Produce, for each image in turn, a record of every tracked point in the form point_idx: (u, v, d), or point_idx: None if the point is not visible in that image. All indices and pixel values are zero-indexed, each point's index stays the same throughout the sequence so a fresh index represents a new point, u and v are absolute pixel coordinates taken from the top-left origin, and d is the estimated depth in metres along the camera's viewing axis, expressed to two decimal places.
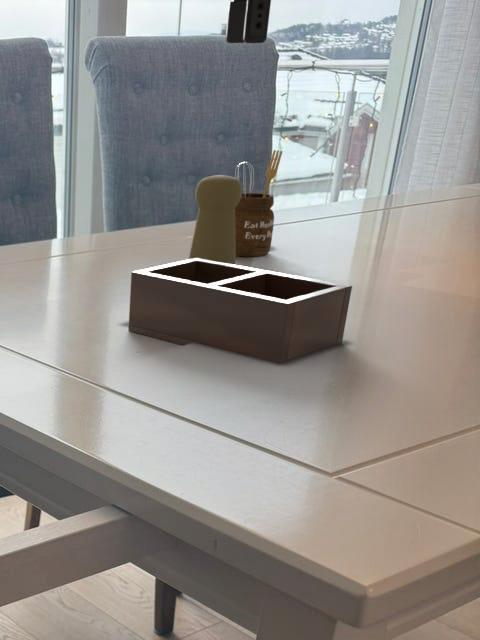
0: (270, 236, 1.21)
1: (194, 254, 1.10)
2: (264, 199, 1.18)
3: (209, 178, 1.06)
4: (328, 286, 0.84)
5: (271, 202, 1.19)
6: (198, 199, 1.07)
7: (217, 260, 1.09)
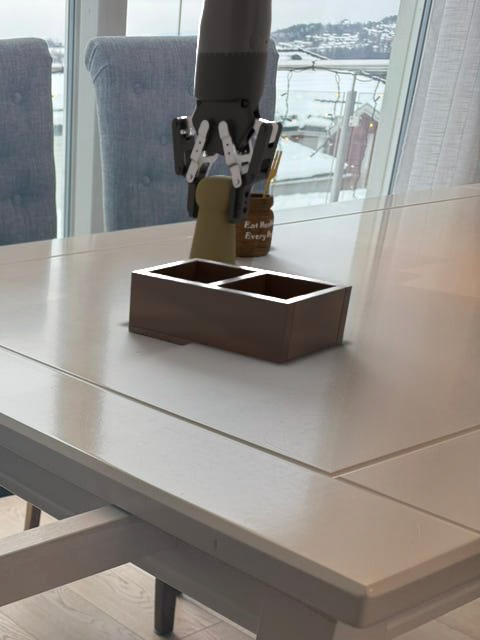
0: (270, 236, 1.21)
1: (194, 254, 1.10)
2: (264, 199, 1.18)
3: (209, 178, 1.06)
4: (328, 286, 0.84)
5: (271, 202, 1.19)
6: (198, 199, 1.07)
7: (217, 260, 1.09)
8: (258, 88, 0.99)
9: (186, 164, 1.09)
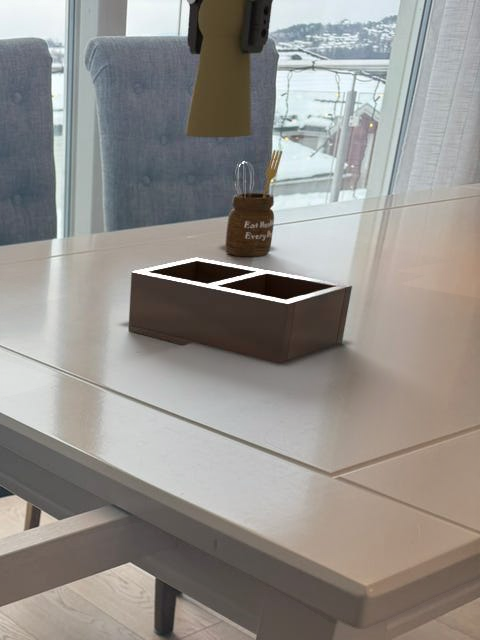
0: (270, 236, 1.21)
1: (197, 100, 0.84)
2: (264, 199, 1.18)
3: None
4: (328, 286, 0.84)
5: (271, 202, 1.19)
6: (202, 23, 0.81)
7: (226, 106, 0.83)
8: None
9: None
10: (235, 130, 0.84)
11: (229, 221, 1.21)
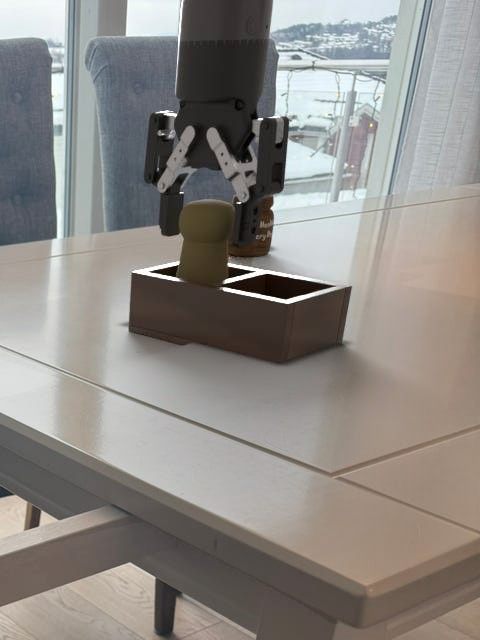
0: (270, 236, 1.21)
1: None
2: (264, 199, 1.18)
3: (196, 203, 0.85)
4: (328, 286, 0.84)
5: (271, 202, 1.19)
6: (182, 229, 0.86)
7: None
8: (256, 86, 0.78)
9: (157, 170, 0.88)
10: None
11: None
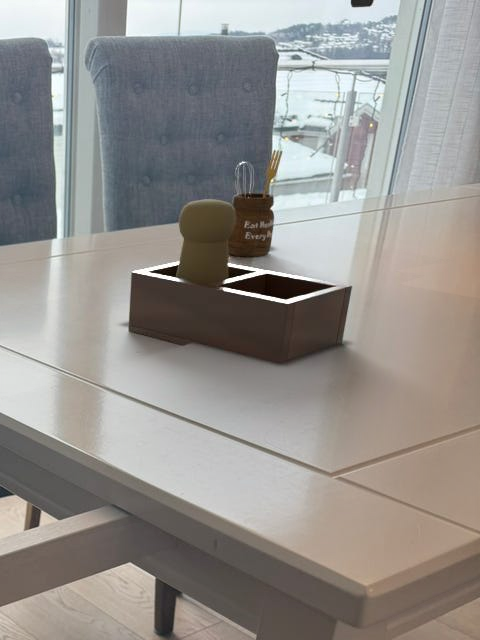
0: (270, 236, 1.21)
1: None
2: (264, 199, 1.18)
3: (196, 203, 0.85)
4: (328, 286, 0.84)
5: (271, 202, 1.19)
6: (182, 229, 0.86)
7: None
8: None
9: None
10: None
11: None
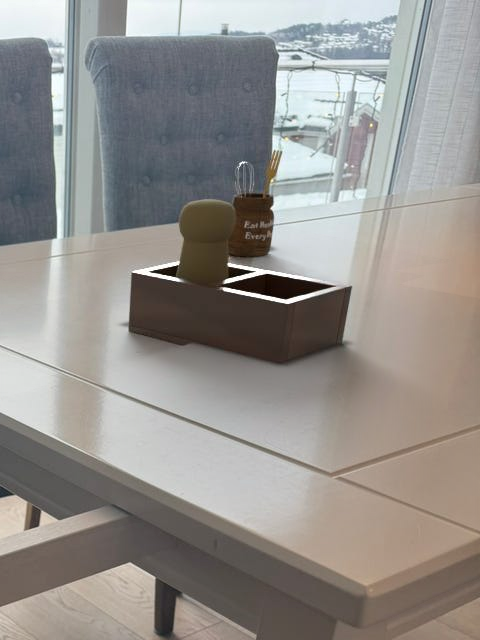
0: (270, 236, 1.21)
1: None
2: (264, 199, 1.18)
3: (196, 203, 0.85)
4: (328, 286, 0.84)
5: (271, 202, 1.19)
6: (182, 229, 0.86)
7: None
8: None
9: None
10: None
11: None
